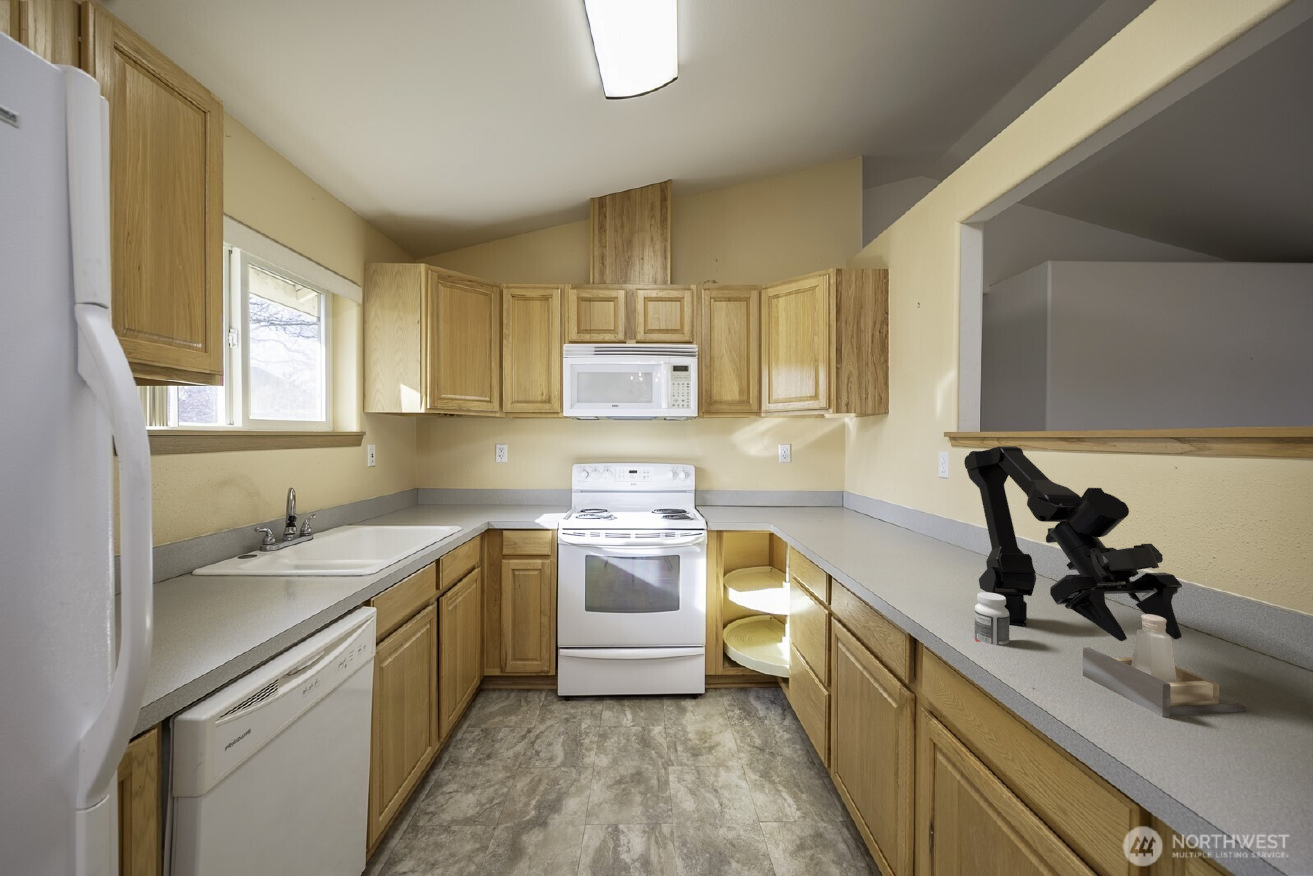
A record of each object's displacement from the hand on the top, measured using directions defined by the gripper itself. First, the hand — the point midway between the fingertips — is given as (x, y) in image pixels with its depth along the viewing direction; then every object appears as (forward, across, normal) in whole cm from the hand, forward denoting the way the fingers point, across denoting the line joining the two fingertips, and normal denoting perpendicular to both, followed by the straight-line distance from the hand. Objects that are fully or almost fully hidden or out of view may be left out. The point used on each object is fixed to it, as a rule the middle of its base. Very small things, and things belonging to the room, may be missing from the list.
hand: (1151, 639), depth 76 cm
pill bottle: (-8, -9, +22) cm, 25 cm away
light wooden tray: (+6, +2, +6) cm, 9 cm away
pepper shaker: (+5, +1, +6) cm, 8 cm away
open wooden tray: (+5, +2, +9) cm, 10 cm away
